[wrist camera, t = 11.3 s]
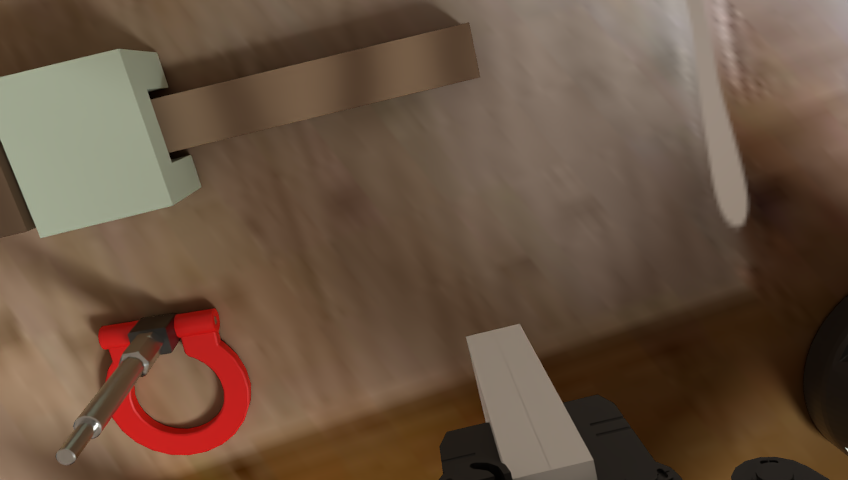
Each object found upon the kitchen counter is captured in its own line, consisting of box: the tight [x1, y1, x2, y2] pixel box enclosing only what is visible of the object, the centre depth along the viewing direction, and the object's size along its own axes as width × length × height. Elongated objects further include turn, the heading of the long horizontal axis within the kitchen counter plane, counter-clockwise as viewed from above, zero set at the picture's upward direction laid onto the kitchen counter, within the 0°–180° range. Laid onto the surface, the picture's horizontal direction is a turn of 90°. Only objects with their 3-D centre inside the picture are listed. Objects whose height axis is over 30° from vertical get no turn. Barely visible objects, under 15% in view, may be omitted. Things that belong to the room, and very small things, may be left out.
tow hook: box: [56, 308, 251, 465], centre depth 36 cm, size 9×14×10 cm
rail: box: [0, 23, 480, 238], centre depth 35 cm, size 27×7×6 cm, turn 103°
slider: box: [0, 49, 201, 238], centre depth 35 cm, size 7×8×6 cm
